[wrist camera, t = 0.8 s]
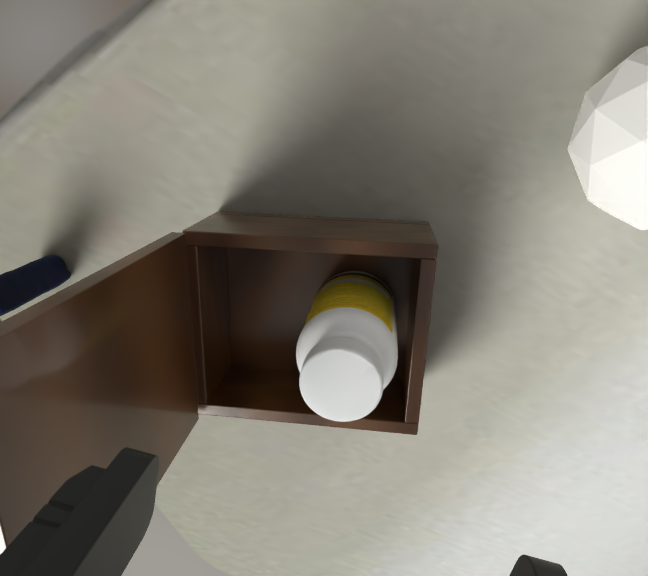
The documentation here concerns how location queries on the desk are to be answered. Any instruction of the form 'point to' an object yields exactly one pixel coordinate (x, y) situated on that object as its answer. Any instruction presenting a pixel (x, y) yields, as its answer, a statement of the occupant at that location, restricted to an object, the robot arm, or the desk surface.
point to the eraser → (31, 282)
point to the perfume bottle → (615, 141)
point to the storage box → (299, 309)
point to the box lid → (96, 377)
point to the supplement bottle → (348, 346)
